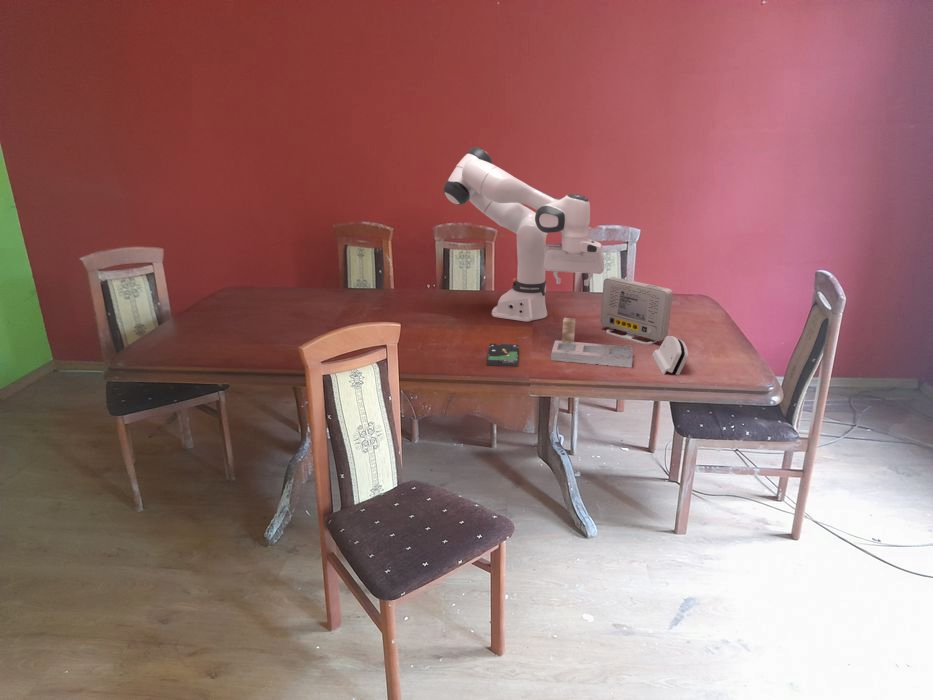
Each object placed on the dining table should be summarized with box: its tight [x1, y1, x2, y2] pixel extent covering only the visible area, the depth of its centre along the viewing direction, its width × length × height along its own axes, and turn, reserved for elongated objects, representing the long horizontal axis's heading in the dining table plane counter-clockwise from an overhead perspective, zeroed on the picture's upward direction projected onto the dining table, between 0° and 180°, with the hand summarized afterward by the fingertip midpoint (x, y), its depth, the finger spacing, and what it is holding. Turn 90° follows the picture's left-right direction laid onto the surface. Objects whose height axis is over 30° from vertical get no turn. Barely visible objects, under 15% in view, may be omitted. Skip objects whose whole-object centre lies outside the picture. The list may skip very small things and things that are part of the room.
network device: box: [599, 276, 674, 346], centre depth 216 cm, size 26×9×20 cm, turn 44°
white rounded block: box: [651, 335, 689, 376], centre depth 194 cm, size 17×5×10 cm, turn 176°
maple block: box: [561, 317, 577, 342], centre depth 211 cm, size 4×4×9 cm
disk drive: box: [486, 343, 520, 368], centre depth 201 cm, size 10×3×15 cm
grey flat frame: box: [550, 339, 634, 369], centre depth 200 cm, size 26×11×3 cm, turn 76°
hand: (572, 284), depth 205 cm, fingers open, 8 cm apart
